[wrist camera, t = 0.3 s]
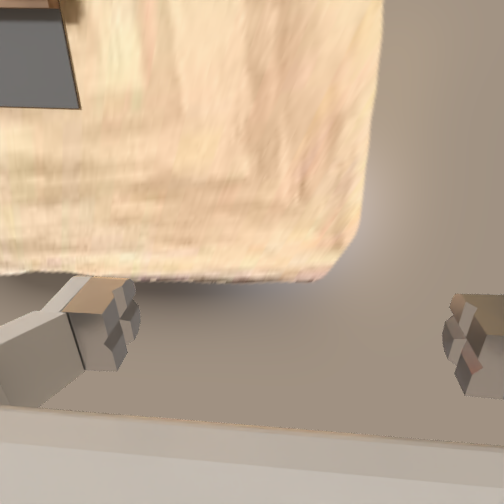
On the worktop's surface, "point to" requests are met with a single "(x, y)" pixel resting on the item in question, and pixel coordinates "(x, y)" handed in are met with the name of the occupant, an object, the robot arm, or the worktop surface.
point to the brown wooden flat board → (29, 4)
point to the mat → (35, 60)
